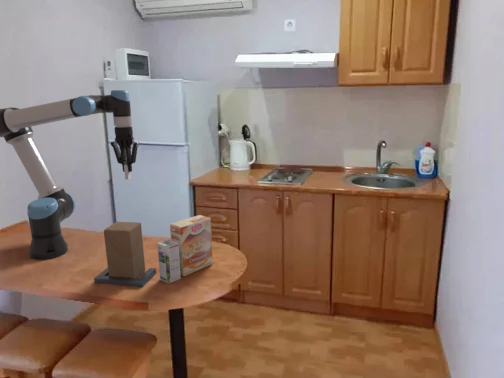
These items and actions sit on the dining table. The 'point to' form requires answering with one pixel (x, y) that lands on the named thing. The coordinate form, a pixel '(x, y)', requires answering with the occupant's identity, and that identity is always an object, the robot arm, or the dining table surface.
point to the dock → (125, 279)
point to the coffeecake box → (193, 243)
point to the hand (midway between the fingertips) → (128, 178)
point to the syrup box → (169, 261)
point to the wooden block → (124, 249)
